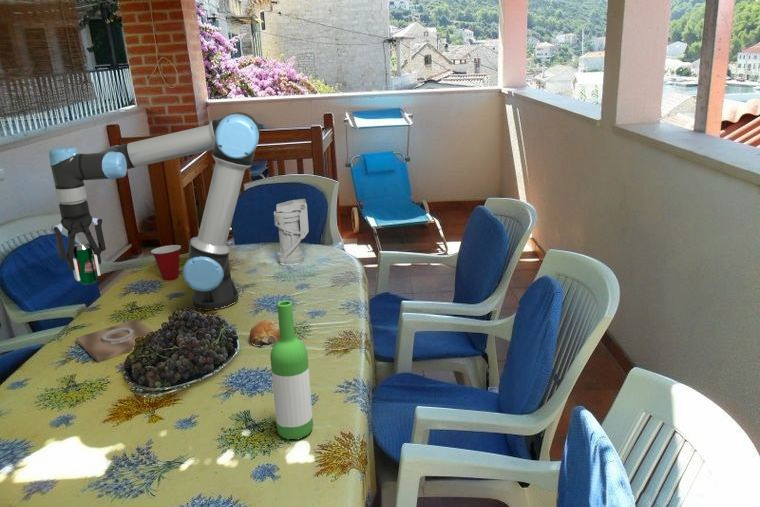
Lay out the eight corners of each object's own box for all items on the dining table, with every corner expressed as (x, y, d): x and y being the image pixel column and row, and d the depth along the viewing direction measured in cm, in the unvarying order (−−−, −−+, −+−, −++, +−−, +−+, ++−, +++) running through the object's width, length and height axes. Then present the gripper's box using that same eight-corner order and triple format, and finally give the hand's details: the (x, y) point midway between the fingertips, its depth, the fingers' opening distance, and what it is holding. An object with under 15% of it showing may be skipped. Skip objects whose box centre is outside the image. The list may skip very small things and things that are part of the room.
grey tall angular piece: (278, 267, 235) (272, 205, 227) (277, 259, 245) (272, 199, 237) (311, 264, 237) (307, 202, 229) (309, 256, 247) (305, 197, 239)
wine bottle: (307, 443, 125) (297, 311, 116) (272, 440, 127) (259, 309, 118) (317, 422, 133) (308, 296, 123) (284, 419, 134) (272, 294, 125)
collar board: (137, 323, 187) (136, 316, 186) (162, 341, 175) (160, 333, 174) (76, 342, 176) (74, 334, 175) (98, 362, 163) (96, 354, 162)
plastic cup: (173, 271, 234) (169, 242, 231) (191, 276, 228) (187, 246, 224) (149, 279, 226) (144, 249, 222) (166, 284, 220) (162, 253, 216)
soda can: (90, 285, 178) (83, 247, 174) (75, 285, 179) (68, 246, 175) (101, 279, 183) (94, 242, 179) (87, 279, 184) (79, 241, 180)
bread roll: (289, 349, 175) (293, 322, 176) (269, 349, 166) (274, 321, 166) (261, 344, 179) (265, 317, 180) (240, 344, 170) (245, 316, 170)
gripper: (100, 194, 182) (113, 266, 189) (34, 205, 170) (51, 282, 177) (109, 197, 176) (122, 272, 183) (42, 209, 165) (59, 288, 172)
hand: (87, 276), depth 180 cm, fingers closed on soda can, 5 cm apart
